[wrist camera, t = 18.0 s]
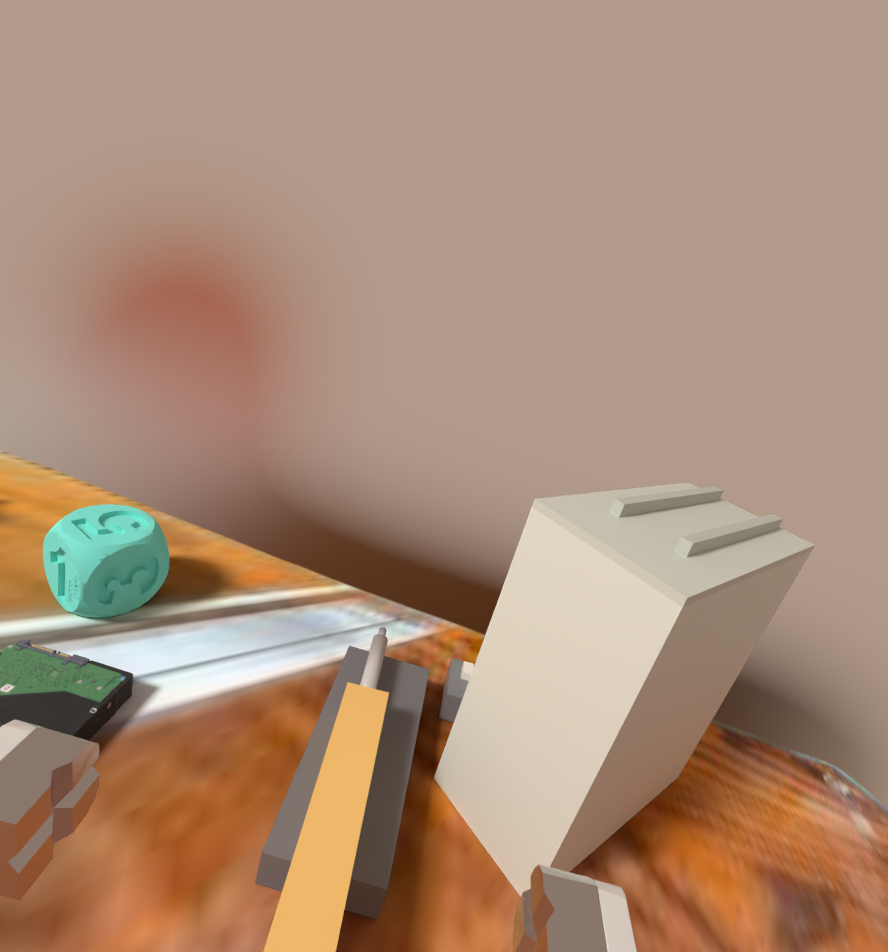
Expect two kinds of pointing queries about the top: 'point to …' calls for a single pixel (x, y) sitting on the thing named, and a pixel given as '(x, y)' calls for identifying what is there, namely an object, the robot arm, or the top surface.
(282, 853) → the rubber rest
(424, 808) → the top surface
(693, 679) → the slotted cream upright block
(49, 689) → the disk drive
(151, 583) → the decorative dice
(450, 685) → the switch box
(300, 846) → the long orange square stick
